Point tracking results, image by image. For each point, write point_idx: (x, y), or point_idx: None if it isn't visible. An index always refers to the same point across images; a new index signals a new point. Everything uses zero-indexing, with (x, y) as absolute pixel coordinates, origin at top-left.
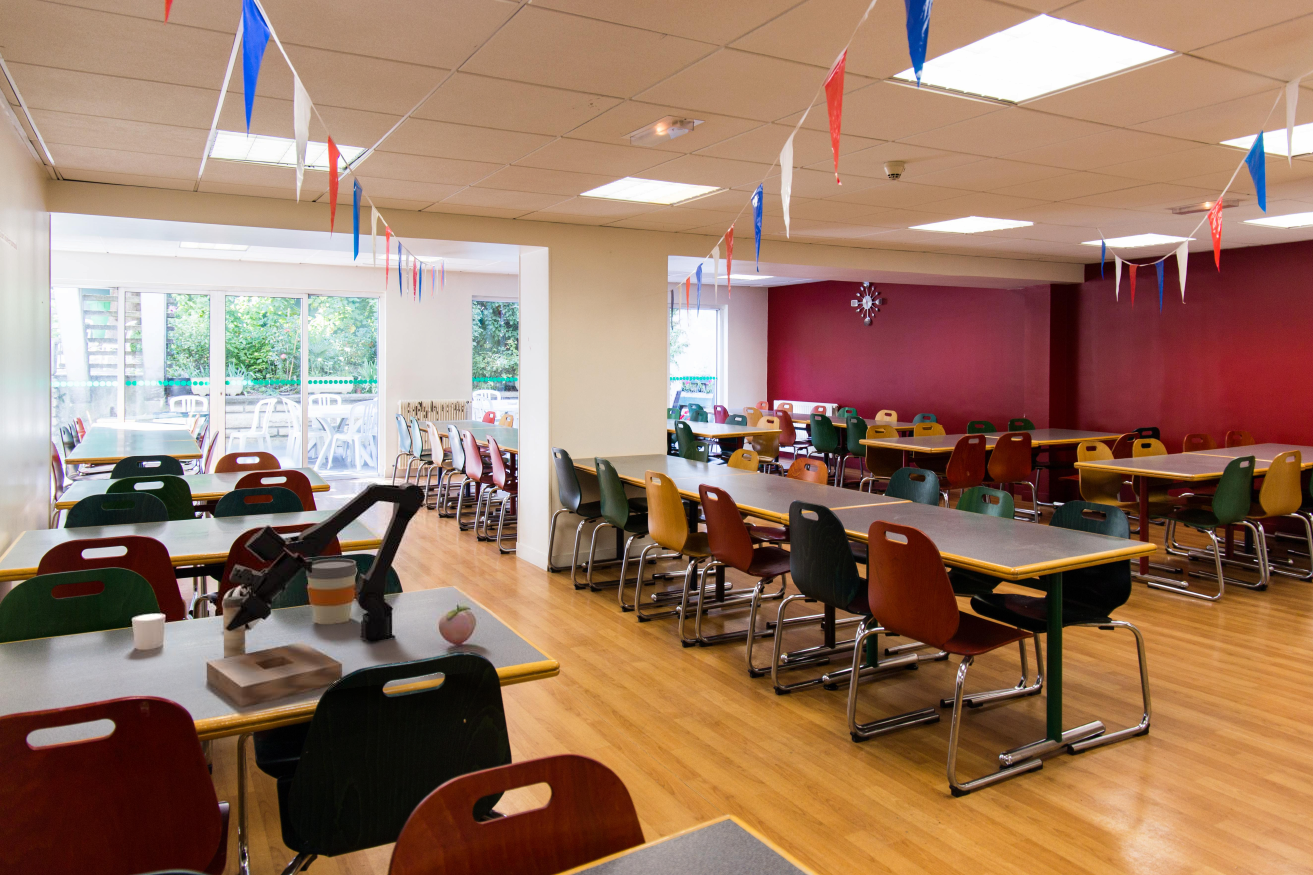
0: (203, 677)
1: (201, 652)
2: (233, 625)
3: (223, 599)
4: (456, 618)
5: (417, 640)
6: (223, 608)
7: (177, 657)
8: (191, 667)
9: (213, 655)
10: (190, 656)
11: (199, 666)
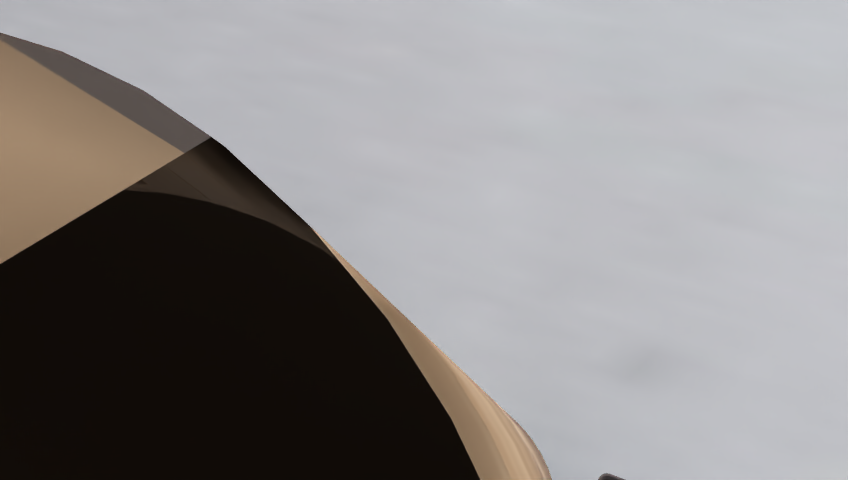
0: None
1: (839, 257)
2: None
3: (46, 90)
4: None
5: None
6: (146, 205)
7: (803, 11)
8: (353, 39)
9: (612, 323)
10: (749, 121)
11: (328, 101)
